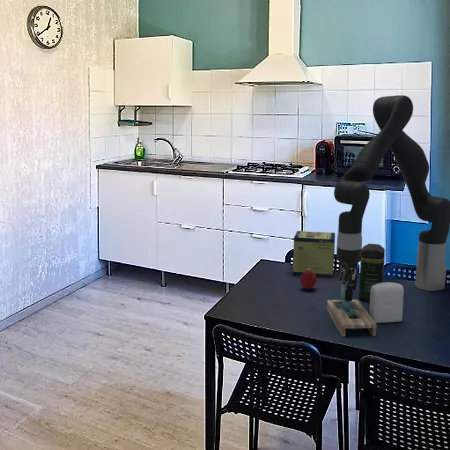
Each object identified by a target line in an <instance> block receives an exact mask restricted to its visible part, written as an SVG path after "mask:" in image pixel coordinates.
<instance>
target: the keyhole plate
mask: <svg viewBox="0 0 450 450" xmlns="http://www.w3.org/2000/svg"><path fill="white" fill-rule="evenodd" d="M326 303H327V305H326V311H327V313H328V315H329V316H330V318H331V320H332V322H333V324H334V325H335V327H336V328H337V332H339V334H340V336H341V337H346V329H367V330H368V332H369V333H370V334H371V336H373V337H374V336H375V337H376V336H377V324H378V323H375V322H374V320H373V319H372V318H371V316H370V315H369V312H368V311H367V310H366V309H365V307H364V306H363V304H362V303H361V302H360V301H359V299H352V301H350V305H354V309H353V310H354V315H355V316H356V317H357V318H349V317H348V315H347V313H346V312H345V310H338V309H339V308H338V307H337V306H336V305H342V306H343V299H327V301H326Z"/></svg>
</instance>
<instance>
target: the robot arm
mask: <svg viewBox="0 0 450 450" xmlns="http://www.w3.org/2000/svg"><path fill="white" fill-rule="evenodd" d="M413 112H414V104H413V101H412V99H411V98H410V97H409V96H408V95H403V94H400V95H397V94H396V95H388V96H381V97H378V98H376V99H375V101H374V102H373V105H372V114H373V115H372V116H373V118H374V122H375V123H376V125H377V126H378V128H379V130H380V131H379V132H378V133H377V134H376V135H375V136H374V137H372V138H371V140H369V141H368V142H367V143H366V144H365V145H364V146H363V147H362V148H361V149H360V151H359V152H358V154H357V157H356V159H355V160H354V163H353V165H352V166H351V167H350V168H349V169H348V170H347V171H346V172H345V173H344V175H343V176H342V177H340V179H339V180H338V181H337V183H336V184H335V186H334V190H333V197H334V199H335V201H336V202H337V203H340V204H343V205H351V207H350V210H349V211H347V210H346V211H342V212H340V214H339V216H338V224H337V225H338V226H337V227H338V229H337V236H336V237H337V238H336V261H338V262H339V263H338V266H339V268H338V269H339V281H340V284H341V285H342V284H345V300H346V301H352V300H353V299H354V298H353V297H354V291H355V290H357V289H356V288H357V283H358V277H359V275H358V273H357V267H356V266H355V265H356V264H358V263H360V262H361V252H362V248H363V246H362V245H363V235H362V233H363V230H362V229H363V218H364V215H365V213H366V212H365V211H366V209H367V206H368V203H369V200H370V194H371V193H370V188H369V186H368V185H367V184H366V183H364V182H369V181H371V180H372V179H373V178H374V176H375V174H376V172H377V170H378V168H379V167H380V165H381V162H382V160H383V158H384V156H385V155H386V153H387V152H388V151H389V149H390V150H391V152H392V154H393V156H394V158H395V161H396V164H397V167H398V168H399V170H400V174H401V175H402V177H403V180H404V182H405V184H406V187H407V190H408V192H409V194H410V195H409V196H410V198H411V201H412V205H413V208H414V212H415V215H416V216H417V217H418V219H420V220H421V221H423V222H427V223H431V224H430V225H431V226H430V229H429V230H427V229H426V230H422V231H420V232H419V234H418V242H417V243H418V246H417V255H416V256H417V257H416V270H415V282H414V283H415V284H414V286H415V288H417V289H420V290H423V291H427V292H429V291H430V292H435V291H441V290H445V286H446V275H447V274H446V273H447V263H446V262H445V260H446V259H445V258H446V256H445V255H446V248H447V247H446V246H447V239H448V235H449V232H450V200H449V199H448V198H445V197H440V196H435V195H432V194H430V192H429V190H428V189H427V188H428V187H427V184H426V182H427V179H428V176H429V172H430V164H429V160H428V159H427V156H426V153H425V151H424V149H423V148H422V146H420V144H419V143H418V142H417V141H415V140H414V139H413V138H412V137H410V136H409V135H408V134H407V133H406V132H405V131H404V129H405V128H406V126H408V123H409V122H410V120H411V119H412V117H413ZM350 285H351V286H350Z"/></svg>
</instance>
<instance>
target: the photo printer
mask: <svg viewBox="0 0 450 450" xmlns="http://www.w3.org/2000/svg"><path fill="white" fill-rule="evenodd" d="M404 291H405V289H404V286H403V285H402V284H400V283H397V282H391V281H390V282H388V281H387V282H383V283H379V284H376V285H373V286H371V289H370V301H369V312H368V314H369V315H370V316H371V318H372V319H373V320H374V322H375V323H376V324H380V323H396V322H402V321H403V311H404V309H403V308H404V293H405V292H404Z"/></svg>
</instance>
